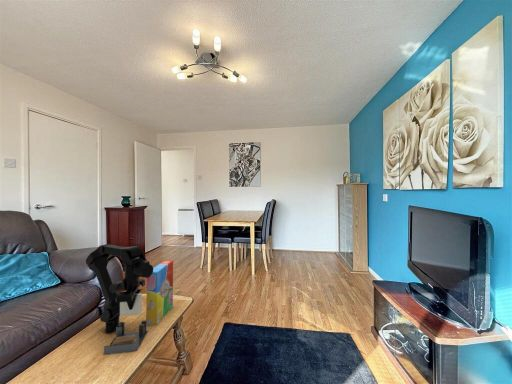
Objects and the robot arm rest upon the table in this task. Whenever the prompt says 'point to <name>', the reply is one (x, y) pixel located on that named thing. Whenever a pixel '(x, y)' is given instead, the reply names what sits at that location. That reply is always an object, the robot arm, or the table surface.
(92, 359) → the table surface
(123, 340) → the offcut upper
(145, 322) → the rack
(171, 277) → the game box
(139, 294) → the panel
